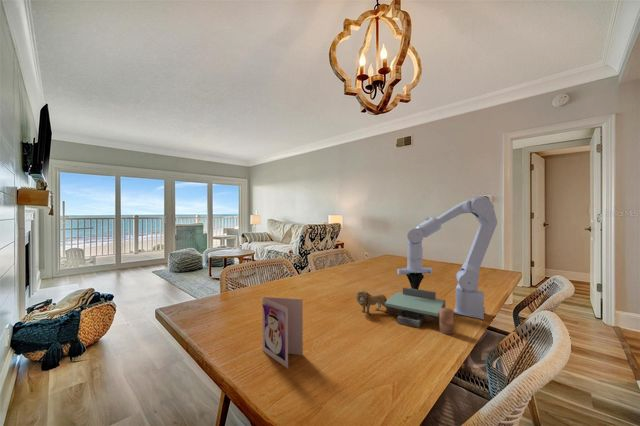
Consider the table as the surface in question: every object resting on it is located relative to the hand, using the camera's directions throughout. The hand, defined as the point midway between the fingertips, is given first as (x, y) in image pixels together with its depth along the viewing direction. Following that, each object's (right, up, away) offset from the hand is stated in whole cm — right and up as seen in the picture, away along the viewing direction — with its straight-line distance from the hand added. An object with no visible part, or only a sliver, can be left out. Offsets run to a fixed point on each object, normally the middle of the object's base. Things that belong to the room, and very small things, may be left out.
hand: (414, 291), depth 104 cm
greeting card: (-48, -7, -35) cm, 60 cm away
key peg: (+2, -6, -22) cm, 23 cm away
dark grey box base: (-3, -6, -8) cm, 11 cm away
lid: (-3, -2, -9) cm, 9 cm away
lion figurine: (-18, -6, -6) cm, 20 cm away
